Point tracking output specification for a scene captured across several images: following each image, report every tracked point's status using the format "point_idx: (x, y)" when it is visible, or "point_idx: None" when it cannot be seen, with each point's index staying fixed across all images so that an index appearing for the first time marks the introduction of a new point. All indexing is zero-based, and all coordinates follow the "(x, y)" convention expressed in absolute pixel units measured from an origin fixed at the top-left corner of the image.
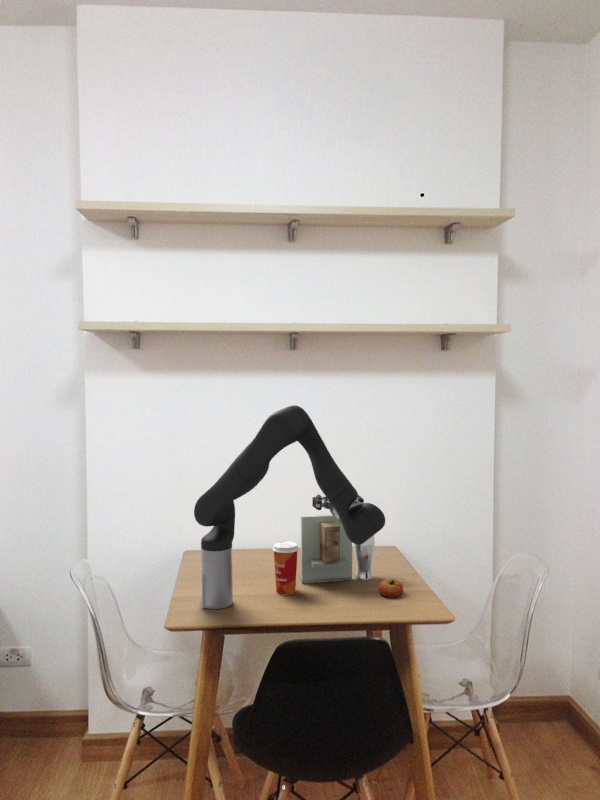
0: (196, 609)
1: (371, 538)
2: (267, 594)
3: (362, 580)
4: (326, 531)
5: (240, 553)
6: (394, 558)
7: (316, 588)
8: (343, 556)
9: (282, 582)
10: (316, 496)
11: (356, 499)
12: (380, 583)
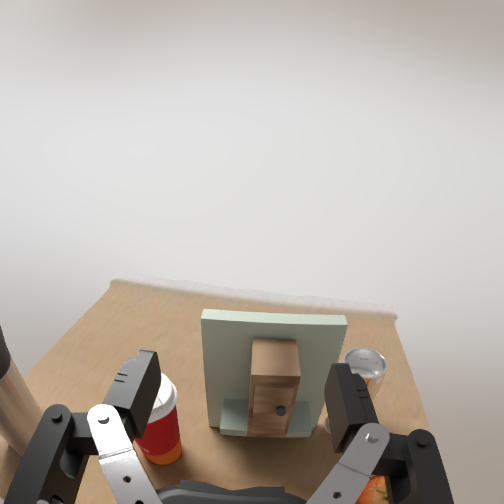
0: (3, 439)
1: (379, 379)
2: None
3: None
4: (256, 383)
5: (169, 299)
6: (396, 351)
7: (229, 455)
8: (305, 400)
9: (142, 450)
10: (128, 365)
11: (401, 465)
12: (366, 490)
